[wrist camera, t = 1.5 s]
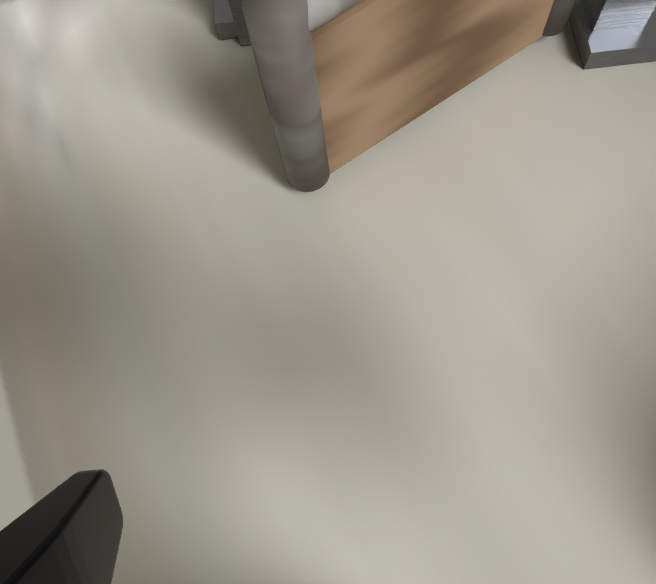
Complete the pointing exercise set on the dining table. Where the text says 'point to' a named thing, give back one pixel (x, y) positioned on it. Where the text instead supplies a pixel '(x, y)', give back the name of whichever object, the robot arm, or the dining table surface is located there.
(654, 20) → the gate posts
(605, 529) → the dining table surface
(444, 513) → the dining table surface
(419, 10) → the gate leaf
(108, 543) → the robot arm
